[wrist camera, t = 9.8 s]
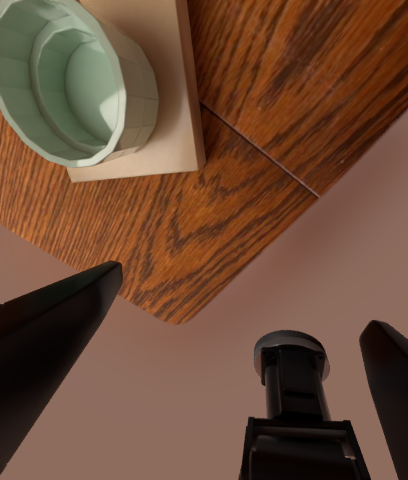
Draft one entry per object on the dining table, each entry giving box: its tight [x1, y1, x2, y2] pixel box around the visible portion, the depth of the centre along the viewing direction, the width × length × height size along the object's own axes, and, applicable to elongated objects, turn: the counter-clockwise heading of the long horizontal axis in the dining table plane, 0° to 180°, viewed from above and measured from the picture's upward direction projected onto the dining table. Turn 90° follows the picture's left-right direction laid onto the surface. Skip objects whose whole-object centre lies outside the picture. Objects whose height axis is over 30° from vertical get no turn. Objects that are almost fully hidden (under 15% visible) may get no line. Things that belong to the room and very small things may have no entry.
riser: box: [66, 0, 206, 183], centre depth 16 cm, size 10×10×3 cm
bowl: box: [0, 0, 159, 168], centre depth 12 cm, size 7×7×4 cm
